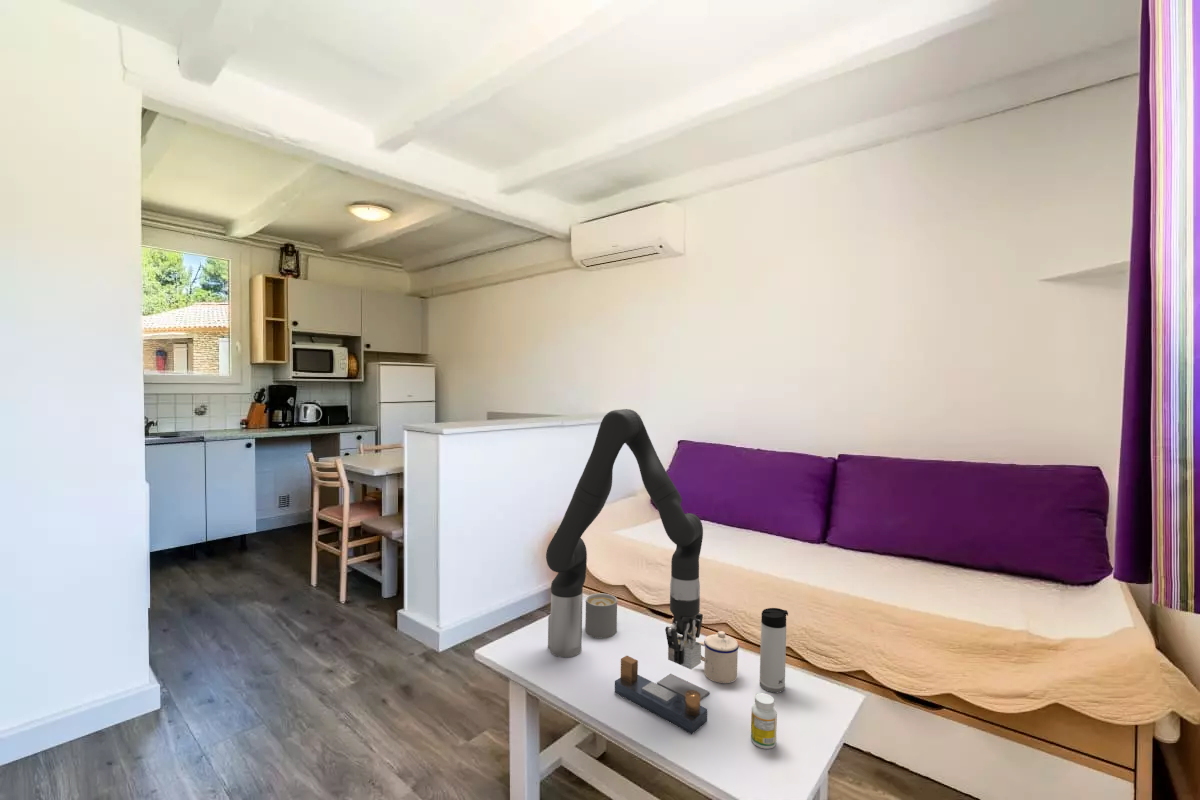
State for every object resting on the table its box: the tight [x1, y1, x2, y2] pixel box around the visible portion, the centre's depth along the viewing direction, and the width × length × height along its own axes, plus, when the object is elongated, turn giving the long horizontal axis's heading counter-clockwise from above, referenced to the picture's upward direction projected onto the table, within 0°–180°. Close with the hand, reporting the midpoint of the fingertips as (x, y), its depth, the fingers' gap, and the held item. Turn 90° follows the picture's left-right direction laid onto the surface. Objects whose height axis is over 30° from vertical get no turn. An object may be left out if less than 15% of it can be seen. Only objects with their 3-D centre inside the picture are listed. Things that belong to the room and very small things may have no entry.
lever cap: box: [667, 634, 702, 670], centre depth 135 cm, size 7×4×6 cm, turn 47°
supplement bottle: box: [750, 692, 778, 750], centre depth 116 cm, size 5×5×10 cm
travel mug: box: [759, 607, 789, 693], centre depth 137 cm, size 6×7×20 cm
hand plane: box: [614, 655, 708, 735], centre depth 128 cm, size 23×6×8 cm, turn 47°
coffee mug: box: [584, 592, 618, 639], centre depth 168 cm, size 13×10×10 cm
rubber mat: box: [656, 673, 710, 702], centre depth 135 cm, size 12×6×1 cm, turn 47°
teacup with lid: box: [697, 630, 740, 684], centre depth 143 cm, size 12×9×12 cm
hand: (684, 659), depth 135 cm, fingers closed on lever cap, 4 cm apart
